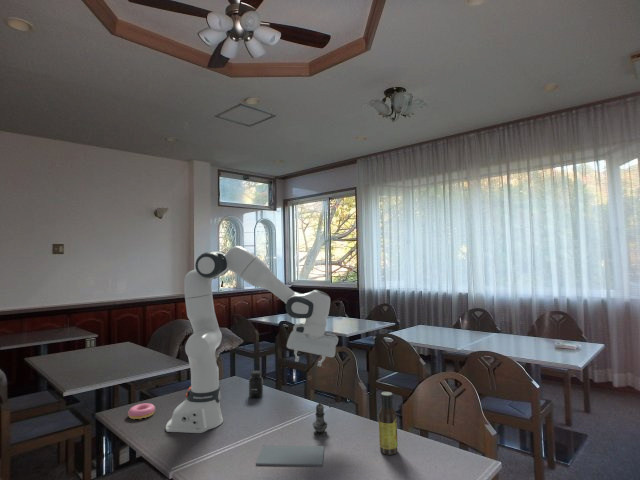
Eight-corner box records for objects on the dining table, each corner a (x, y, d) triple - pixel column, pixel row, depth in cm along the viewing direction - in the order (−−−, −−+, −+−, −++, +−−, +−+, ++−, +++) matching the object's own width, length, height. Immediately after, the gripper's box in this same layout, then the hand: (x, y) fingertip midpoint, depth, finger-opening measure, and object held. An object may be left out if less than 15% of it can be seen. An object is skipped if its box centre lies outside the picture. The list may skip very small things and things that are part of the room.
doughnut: (137, 423, 164) (137, 413, 164) (122, 417, 170) (122, 408, 170) (160, 413, 173) (160, 404, 174) (145, 408, 179) (145, 399, 179)
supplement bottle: (251, 400, 187) (250, 374, 187) (247, 395, 193) (246, 371, 193) (265, 397, 190) (264, 372, 190) (260, 393, 196) (260, 368, 196)
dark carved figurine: (312, 430, 154) (311, 399, 154) (327, 429, 154) (326, 398, 155) (313, 437, 148) (312, 405, 149) (328, 436, 149) (328, 404, 149)
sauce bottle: (400, 454, 134) (399, 395, 135) (383, 456, 133) (382, 397, 134) (393, 445, 141) (391, 389, 141) (376, 447, 139) (375, 391, 140)
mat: (255, 465, 129) (255, 463, 129) (263, 447, 141) (263, 445, 141) (322, 466, 128) (322, 464, 128) (324, 447, 140) (324, 446, 140)
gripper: (338, 333, 164) (332, 366, 163) (291, 324, 165) (284, 357, 164) (339, 336, 158) (333, 370, 157) (290, 326, 158) (283, 360, 157)
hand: (307, 363), depth 160 cm, fingers open, 8 cm apart
